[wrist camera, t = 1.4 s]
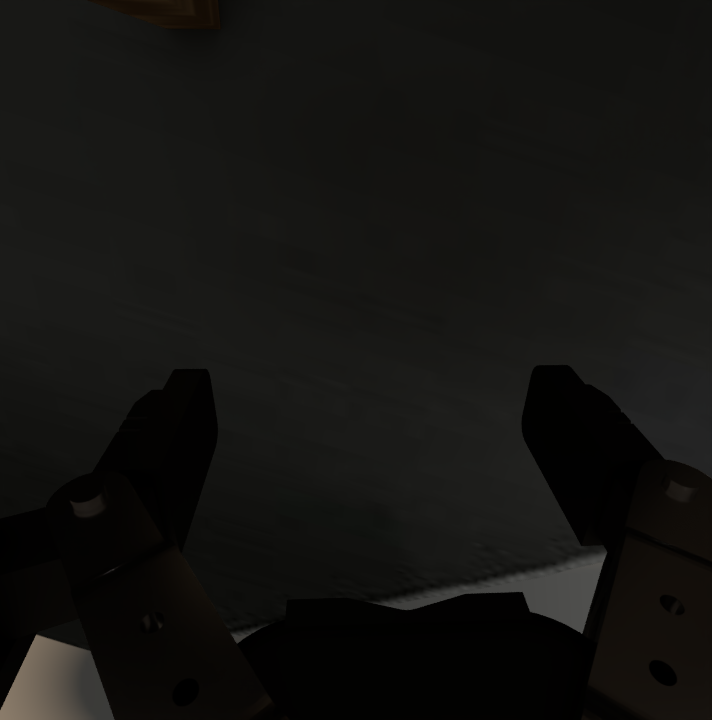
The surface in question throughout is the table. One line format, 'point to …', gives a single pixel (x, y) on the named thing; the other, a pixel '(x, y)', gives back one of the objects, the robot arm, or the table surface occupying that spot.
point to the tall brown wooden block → (170, 12)
